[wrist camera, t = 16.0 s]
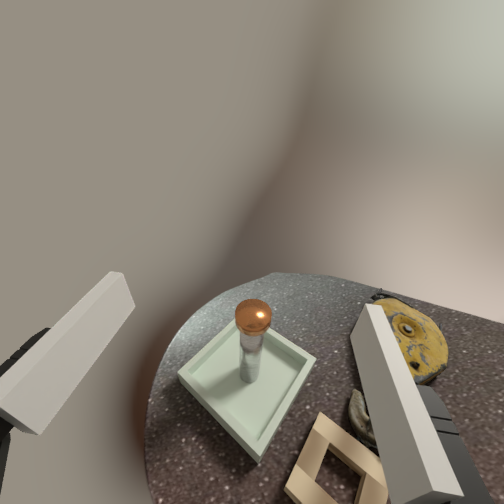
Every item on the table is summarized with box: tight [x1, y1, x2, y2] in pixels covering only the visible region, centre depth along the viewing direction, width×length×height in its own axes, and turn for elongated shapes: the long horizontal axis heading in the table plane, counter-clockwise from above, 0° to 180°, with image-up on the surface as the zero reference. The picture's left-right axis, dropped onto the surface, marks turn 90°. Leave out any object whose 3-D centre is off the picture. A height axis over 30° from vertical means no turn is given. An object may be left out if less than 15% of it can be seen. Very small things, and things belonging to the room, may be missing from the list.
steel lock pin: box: [235, 299, 272, 383], centre depth 31 cm, size 4×4×14 cm
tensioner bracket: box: [284, 412, 388, 504], centre depth 26 cm, size 9×9×2 cm
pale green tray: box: [177, 319, 316, 464], centre depth 35 cm, size 15×15×3 cm
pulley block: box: [348, 288, 448, 449], centre depth 37 cm, size 14×6×30 cm
